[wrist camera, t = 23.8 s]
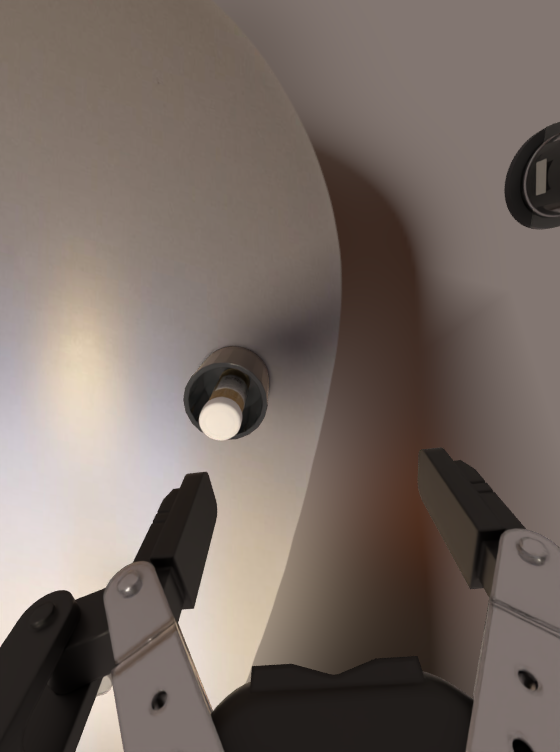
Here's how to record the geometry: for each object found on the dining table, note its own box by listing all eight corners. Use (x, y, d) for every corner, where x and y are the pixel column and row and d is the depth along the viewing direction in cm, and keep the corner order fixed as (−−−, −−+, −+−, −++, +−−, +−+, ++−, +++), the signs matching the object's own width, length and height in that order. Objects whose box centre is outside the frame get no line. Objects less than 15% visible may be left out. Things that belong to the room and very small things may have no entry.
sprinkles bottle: (213, 385, 46) (190, 428, 33) (229, 361, 45) (211, 395, 32) (240, 401, 47) (226, 449, 34) (256, 377, 46) (248, 417, 33)
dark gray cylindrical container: (265, 343, 45) (263, 359, 37) (271, 407, 48) (270, 436, 40) (195, 348, 45) (176, 366, 37) (206, 412, 48) (191, 442, 40)
